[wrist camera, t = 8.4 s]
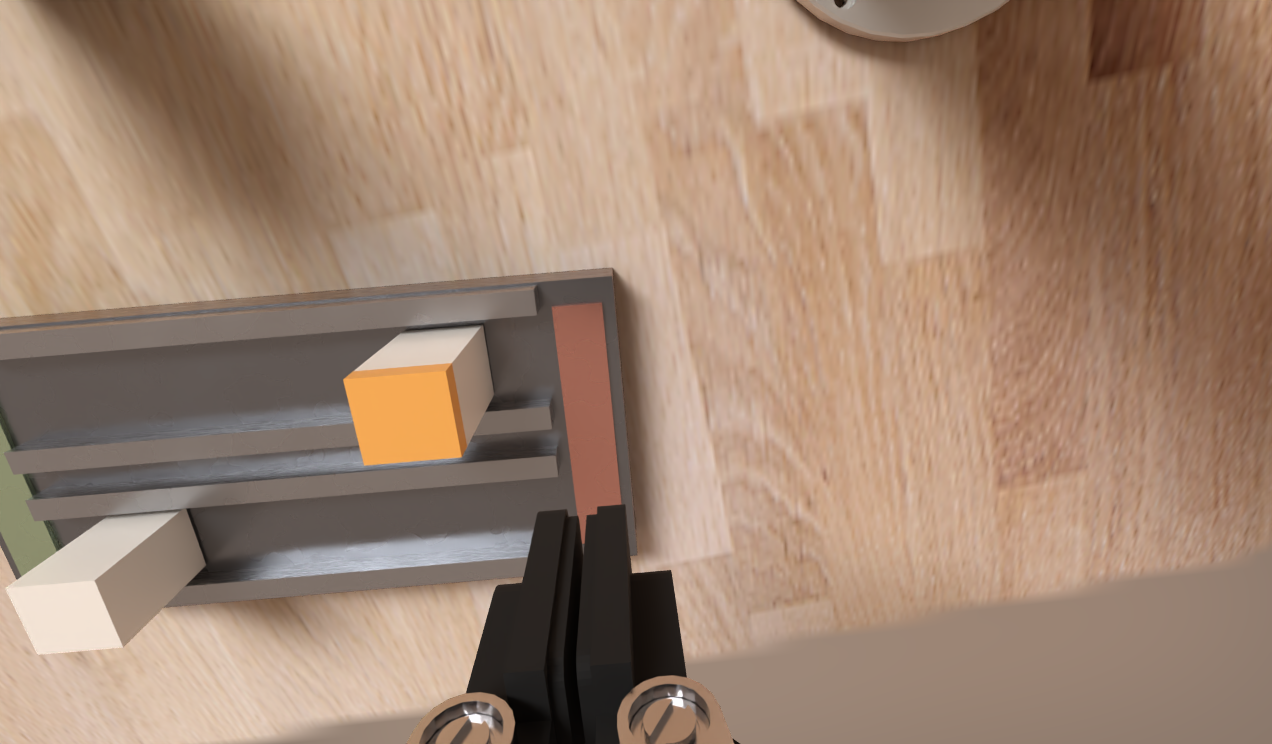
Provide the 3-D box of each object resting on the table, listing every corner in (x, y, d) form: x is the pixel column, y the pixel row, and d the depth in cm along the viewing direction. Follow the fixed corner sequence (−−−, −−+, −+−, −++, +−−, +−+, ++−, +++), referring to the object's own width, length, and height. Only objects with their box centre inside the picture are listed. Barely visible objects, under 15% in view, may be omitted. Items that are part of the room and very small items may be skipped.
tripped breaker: (482, 324, 25) (445, 370, 19) (494, 394, 26) (461, 457, 20) (402, 331, 25) (343, 379, 19) (417, 400, 26) (364, 465, 20)
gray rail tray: (612, 267, 26) (612, 280, 24) (635, 530, 31) (638, 568, 28) (-50, 322, 26) (-130, 341, 23) (66, 579, 30) (10, 622, 28)
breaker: (185, 507, 27) (94, 580, 22) (206, 565, 28) (122, 647, 23) (111, 513, 27) (5, 588, 22) (135, 571, 28) (37, 654, 23)
